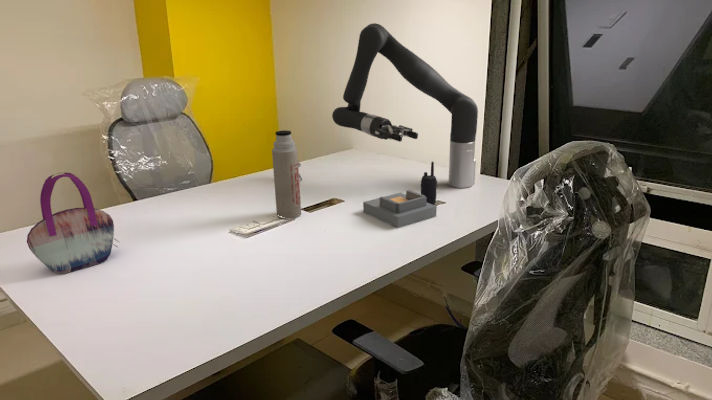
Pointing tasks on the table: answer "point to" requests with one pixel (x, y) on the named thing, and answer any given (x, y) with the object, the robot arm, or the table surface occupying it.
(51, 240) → the handbag
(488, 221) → the table surface
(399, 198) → the tray
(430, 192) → the two-way radio
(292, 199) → the thermos bottle
